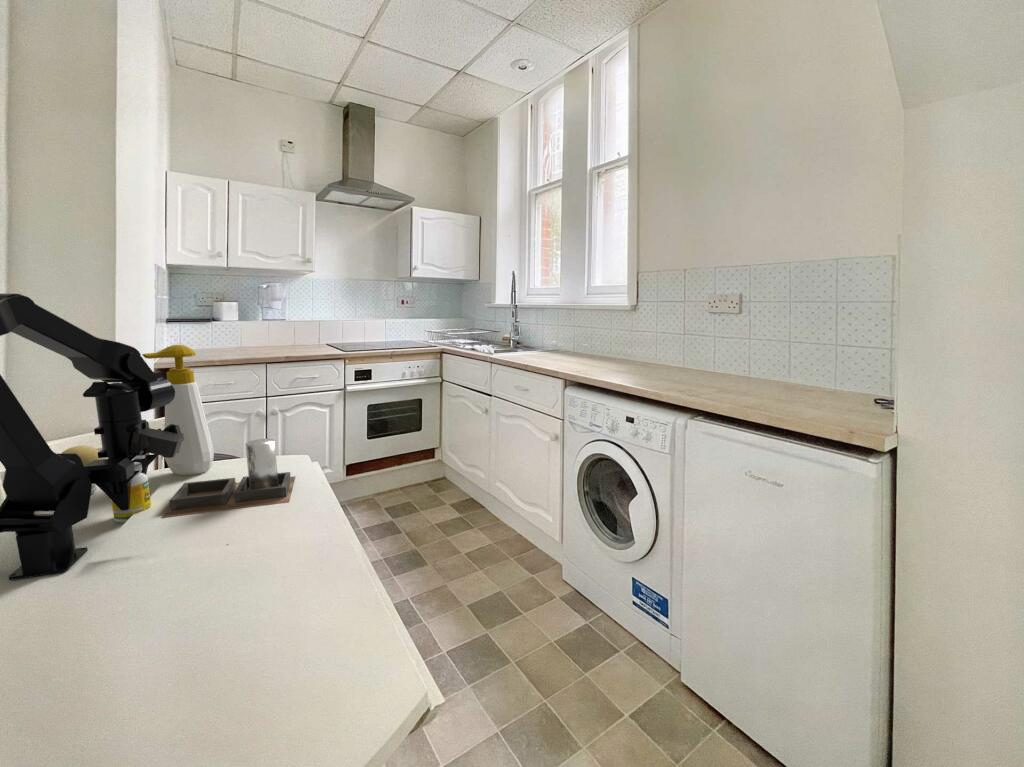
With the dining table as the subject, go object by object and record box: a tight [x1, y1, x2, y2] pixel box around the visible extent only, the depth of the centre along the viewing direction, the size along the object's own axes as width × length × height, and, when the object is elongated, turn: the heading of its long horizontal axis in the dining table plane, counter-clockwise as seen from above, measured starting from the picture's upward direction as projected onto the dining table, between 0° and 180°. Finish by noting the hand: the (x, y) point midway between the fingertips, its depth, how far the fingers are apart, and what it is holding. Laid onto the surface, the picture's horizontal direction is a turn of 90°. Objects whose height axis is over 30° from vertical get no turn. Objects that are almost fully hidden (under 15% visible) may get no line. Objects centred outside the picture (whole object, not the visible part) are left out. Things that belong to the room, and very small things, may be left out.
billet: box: [245, 438, 279, 490], centre depth 91 cm, size 5×5×10 cm
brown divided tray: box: [160, 471, 296, 519], centre depth 90 cm, size 14×20×4 cm
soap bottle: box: [141, 344, 215, 476], centre depth 101 cm, size 13×10×29 cm
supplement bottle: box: [110, 462, 152, 523], centre depth 83 cm, size 5×5×10 cm
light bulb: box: [61, 445, 102, 495], centre depth 93 cm, size 6×6×10 cm
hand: (131, 503), depth 84 cm, fingers closed on supplement bottle, 5 cm apart
